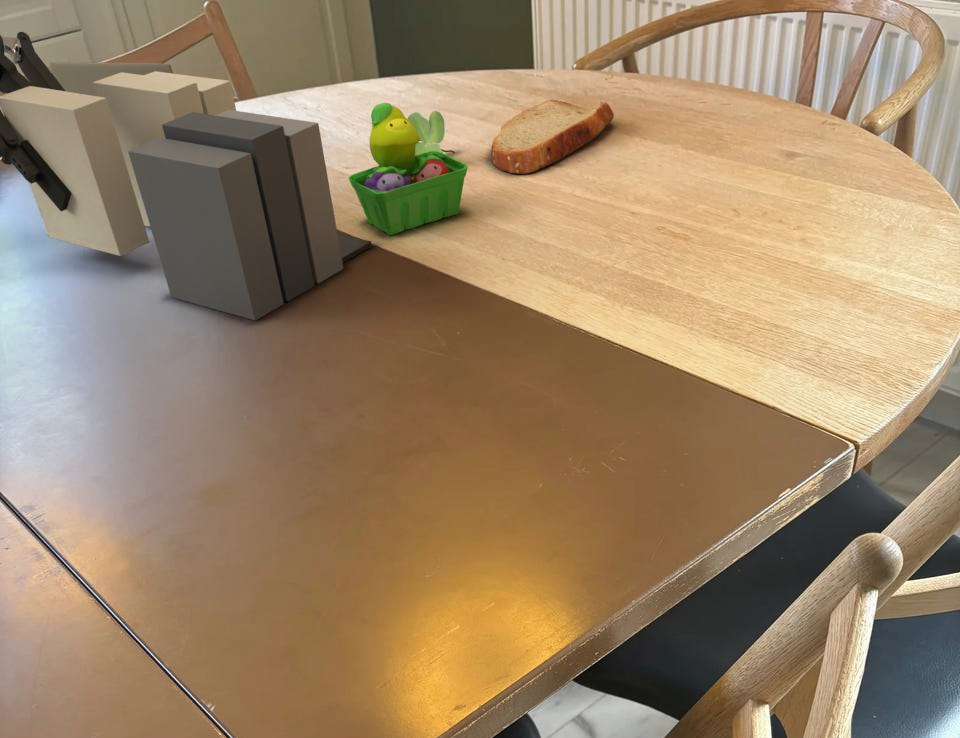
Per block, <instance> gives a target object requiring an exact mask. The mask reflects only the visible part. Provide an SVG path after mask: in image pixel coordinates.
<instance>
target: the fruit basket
mask: <svg viewBox="0 0 960 738" xmlns="http://www.w3.org/2000/svg"><path fill="white" fill-rule="evenodd" d="M407 118H408V117H406V116H405V115H404V113H403V111H402V110H401V109H400V108H398V107H397V106H395V105H392V104H391V103H389V102H381V103H378V104H376V105H374V106H373V108H372V110H371V113H370V119H371V131H370V135H369V139H368V140H369V143H368V144H369V150H370V154H371V157H372V158H373V160H374V161H375V162H376V163H377V166H374V167H371V168H367V169H365V170H362V171H358V172H355V173H353V174H350V175H349V176H348V181H349V183H350V185H351V187H352V188H353V189H354V191H355V194H356V196H357V198H358V200H359V203H360V206H361V208H362V210H363V212H364V215H365V217H366V219H367V221H368V223H369V224H370V225H373V226H374V227H375V228H376V229H379V230H380V231H382V232H384V233H386V234H387V235H388V236H392V235H396V234H399V233H401V232H404V231H406V230H411V229H414V228H417V227H420V226H423V225H425V224H429V223H433V222H436V221H438V220H441V219H444V218H448V217H451V216H455V215H458V214H460V208H461V201H462V195H463V190H464V189H463V188H464V182H465V177H466V176H467V173H468V168H469V166H468V164H467V163H464V162H462V161H460V160H458V159H456V158H453V157H451V156H449V155H447V154H446V153H444V152H443V153H441V152H438V151H429V152H426V153H422V154H418V155H415V148H416V144H417V143H418V142H421V141H420V137H419V134H418V132H417V130H416V129H415V127H414V126H413V124H412V123H411V122H410V121H409V120H408V119H407Z"/></svg>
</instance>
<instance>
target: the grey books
mask: <svg viewBox="0 0 960 738" xmlns="http://www.w3.org/2000/svg"><path fill="white" fill-rule="evenodd" d="M162 127H163V131H164V135H165V138H166V139H165V138H158V139H156V140H154V141H151V142H149V143H146V144H144V145H141V146H139V147H136V148H134V149H132V150H129V151H128V153H129V156H130V160H131V163H132V166H133V170H134V173H135V177H136V180H137V183H138V187H139V190H140V193H141V197H142V200H143V203H144V207H145V210H146V214H147V217H148V220H149V224H150V227H149V228H150V231H151V234H152V237H153V241H154V243H155V247H156V250H157V254H158V257H159V261H160V264H161V268H162V271H163V274H164V278H165V280H166V284H167V288H168V291H169V295H170V297H171V298H174V299H177V300H181V301H184V302H187V303H191V304H194V305H198V306H202V307H205V308H208V309H212V310H215V311H219V312H223V313H227V314H230V315H234V316H236V317H241V318H243V319H247V320H252V321H255V322H256V321H258V320H259V319H262V318H263V317H264V316H267V314H270V313H271V312H273V311H274V310H277V309H278V308H280V307H281V306H283V305H284V302H287V303H288V302H290V301H292V300H293V299H295V298H297V297H298V296H300V295H301V294H303V293H305V292H307V291H309V290H311V289H312V288H314V287H315V284H316V285H319V284H320V283H322V282H324V281H325V280H327V279H329V278H330V277H333V276H334V275H336V274H338V273H339V272H341V271H342V270H344V263H346V262H348V261H350V260H352V259H353V258H355V257H357V256H359V255H360V254H362V253H363V252H366V251H367V250H369V249H370V248H372V247H373V243H372V241H371V240H367V239H363V238H357V237H353V236H349V235H343V234H339V233H338V229H337V223H336V217H335V212H334V205H333V201H332V195H331V189H330V188H331V187H330V183H329V177H328V176H329V175H328V170H327V166H326V159H325V153H324V148H323V142H322V136H321V130H320V123H318V122H315V121H307V120H301V119H294V118H288V117H287V118H286V117H281V116H274V115H267V114H261V113H253V112H247V111H240V110H236V111H234V110H227V111H225V112H222V113H220V114H217V115H215V116H214V115H208V114H201V113H195V112H192V113H189V114H187V115H184V116H182V117H179V118H177V119H174V120H172V121H169V122H167V123H164V124H162Z"/></svg>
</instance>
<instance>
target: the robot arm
mask: <svg viewBox="0 0 960 738" xmlns="http://www.w3.org/2000/svg"><path fill="white" fill-rule="evenodd" d="M5 53H6V54H8V55H9V56H10V58H11V59H10V58H9V57H8V56H6V54H5ZM16 65H18V67H19V69H20V70H21V72H22V73H23V74H22V73H21V72H20V71H18V68H17V66H16ZM29 86H33V87H40V88H46V89H53V90H59V91H65V89H64V88H63V87H62V86H61V84H60V83H59V82H58V80H57V79H56V78H55V77H54V75H53V74H52V72H51V69H50V68H49V67H48V66H47V65H46V64H45V62H44V61H43V60H42V59H41V58H40V56H39V55H38V54H37V52H36V51H35V47H34V45H33V43H32V40H31V38H30V36H29V34H28V33H26V32H24V31H19V32H17V34H16V37H8V36H2V35H1V34H0V93H2V94H8V93H11V92H14V91H17V90H20V89H23V88H26V87H29ZM65 92H66V91H65ZM0 159H1V162H2V163H3V164H5V165H9V166H10V165H13V166H14V168H15V169H16V170H17V171H18V172H19V173H20V175H22V177H23V178H24V179H25V180H26V181H27V182H28V183H29V182H30V183H31V184H32V183H35V182H36V183H37V184H38V185H39V186H40V187H41V189H42V190H43V191H44V192H45V193H46V195H47V196H48V197H49V198H50V199H51V201H52V202H53V203H54V204H55V205H56V206H57V208H58V209H59V210H60V211H61V212H62V211H64V210H66V209H67V207H68V203H69V200H70V197H71V194H72V193H71V192H70V190H69V189H68V188H67V187H66V186H65V184H64V183H63V182H62V181H61V180H60V178H59V177H58V176H57V175H56V174H55V172H54V171H53V170H52V169H51V168H50V166H49V165H48V164H47V163H46V162H45V161H44V159H43V158H42V157H41V156H40V155H39V153H38V152H37V151H36V150H35V149H34V147H33V146H32V145H31V144H30V143H29V141H28V140H25V141H22V142H21V144H20V145H19V144H18V139H17V137H16V135H15V134H14V132H13V130H12V129H11V127H10V125H9V124H8V122H7V120H6V118H5V116H4V114H3V111H2V109H0Z"/></svg>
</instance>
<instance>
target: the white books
mask: <svg viewBox="0 0 960 738" xmlns="http://www.w3.org/2000/svg"><path fill="white" fill-rule="evenodd" d="M93 85H94V88H95V91H96V94H97V97H104V98H106V100H107V103H108V106H109V110H110V113H111V116H112V120H113V123H114V126H115V129H116V133H117V136H118V139H119V143H120V146H121V149H122V153H123V156H124V159H125V163H126V166H127V169H128V173H129V176H130V179H131V183H132V186H133V189H134V192H135V196H136V199H137V202H138V206H139V209H140V212H141V216H142V219H143V222H144V226H145V227H149V228H151V227H150V224H149V220H148V217H147V214H146V210H145V207H144V203H143V200H142V197H141V193H140V190H139V187H138V183H137V180H136V177H135V173H134V170H133V166H132V163H131V160H130V156H129V153H128V151H129V150H132V149H134V148H136V147H139V146H141V145H144V144H146V143H149V142H151V141H154V140H156V139H158V138H165V135H164V131H163V127H162V124H164V123H167V122H169V121H172V120H174V119H177V118H179V117H182V116H184V115H187V114H189V113H192V112H195V113H201V114H208V115H214V116H215V115H217V114H220V113H222V112H225V111H227V110H234V111H237V107H236V102H235V98H234V94H233V89H232V84H231V81H230V80H226V79H218V78H212V77H211V78H210V77H203V76H194V75H187V74H179V73H173V74H172V73H164V72H157V71H155V72H152V73H149V74H146V75H137V74H130V73H122V72H121V73H118V74H115V75H112V76H110V77H107V78H104V79H101V80H98V81H95V82H93ZM165 139H166V138H165Z"/></svg>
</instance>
